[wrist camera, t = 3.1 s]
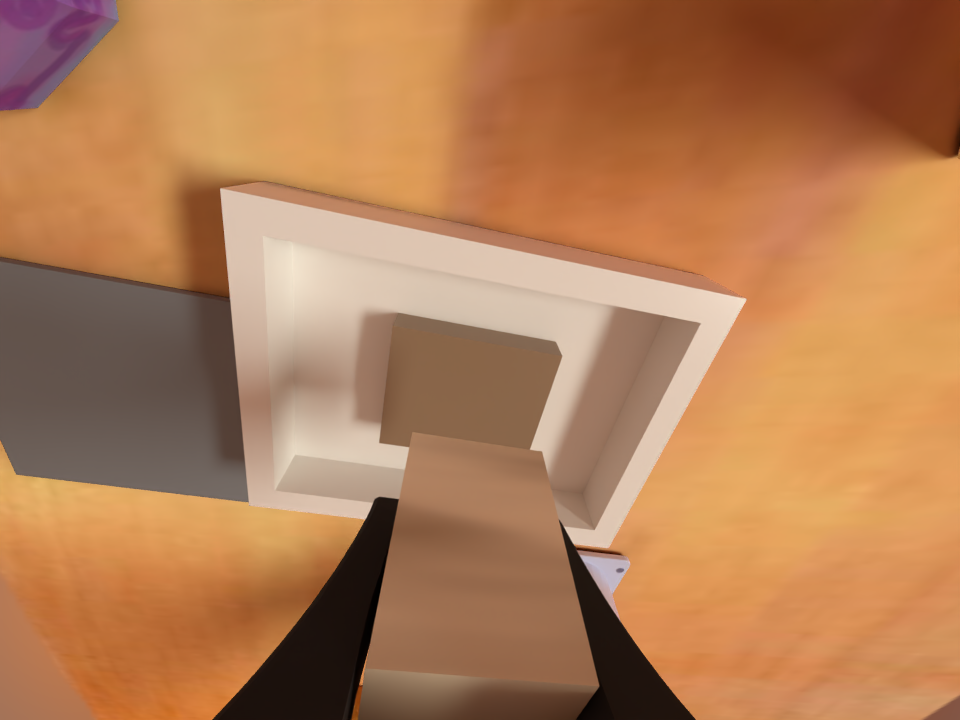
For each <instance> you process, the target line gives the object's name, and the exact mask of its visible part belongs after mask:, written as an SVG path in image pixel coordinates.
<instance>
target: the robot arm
mask: <svg viewBox="0 0 960 720" xmlns="http://www.w3.org/2000/svg"><path fill="white" fill-rule="evenodd" d="M398 502H399V499H395V498H387V497H377V498H375V499H374V502H373V505H372V507H371V509H370V511H369V513H368V516H367V518H366V520H365V522H364V523H363V525H362V527H361V529H360V531H359V532H358V534H357V536H356V538H355V539H354V541H353V543H352V544H351V546H350V548H349V549H348V551H347V552H346V554H345V556H344V557H343V559H342V560H341V562H340V564H339V565H338V567H337V568H336V570H335V571H334V573H333V574H332V575H331V577H330V578H329V580H328V581H327V583H326V584H325V585H324V587H323V588H322V590H321V591H320V593H319V594H318V595H317V597H316V598H315V600H314V601H313V602H312V604H311V605H310V606H309V608H308V609H307V610H306V612H305V613H304V614H303V616H302V617H301V618H300V619H299V621H298V622H297V623H296V625H295V626H294V627H293V628H292V630H291V631H290V632H289V633H288V635H287V636H286V637H285V638H284V640H283V641H282V642H281V643H280V644H279V646H278V647H277V648H276V649H275V650H274V652H273V653H272V654H271V655H270V656H269V657H268V659H267V660H266V661H265V662H264V663H263V664H262V666H261V667H260V668H259V669H258V670H257V672H256V673H255V674H254V675H253V676H252V677H251V678H250V679H249V681H248V682H247V683H246V684H245V685H244V686H243V687H242V688H241V690H240V691H239V692H238V693H237V694H236V695H235V696H234V697H233V698H232V699H231V700H230V701H229V702H228V704H227V705H226V706H225V707H224V708H223V709H222V710H221V711H220V712H219V713H218V714H217V715H216V716H215V717H214V718H213V720H352V715H353V710H354V705H355V700H356V696H357V691H358V687H359V683H360V679H361V675H362V671H363V668H364V664H365V660H366V657H367V653H368V649H369V646H370V642H371V637H372V632H373V627H374V622H375V617H376V612H377V607H378V602H379V597H380V592H381V587H382V582H383V577H384V572H385V567H386V562H387V557H388V552H389V547H390V542H391V537H392V532H393V527H394V522H395V517H396V512H397V507H398ZM559 523H560V527H561V531H562V535H563V539H564V543H565V547H566V551H567V555H568V560H569V564H570V568H571V572H572V576H573V580H574V584H575V588H576V592H577V596H578V600H579V605H580V609H581V613H582V617H583V621H584V625H585V629H586V633H587V637H588V641H589V646H590V650H591V654H592V658H593V662H594V666H595V670H596V674H597V678H598V682H599V688H598V689H597V690H596V692H595V693H594V695H593V696H592V698H591V699H590V700H589V702H588V703H587V705H586V706H585V707H584V709H583V710H582V712H581V713H580V714H579V716H578V717H577V719H576V720H696V719H695V718H694V717H693V716H692V715H691V713H690V712H689V711H688V710H687V709H686V708H685V706H684V705H683V704H682V703H681V702H680V701H679V699H678V698H677V697H676V696H675V695H674V693H673V692H672V691H671V690H670V688H669V687H668V686H667V685H666V683H665V682H664V681H663V679H662V678H661V677H660V676H659V674H658V673H657V672H656V670H655V669H654V668H653V666H652V665H651V664H650V663H649V661H648V660H647V659H646V657H645V656H644V655H643V653H642V652H641V650H640V649H639V648H638V646H637V645H636V643H635V642H634V641H633V639H632V638H631V636H630V635H629V633H628V632H627V630H626V629H625V627H624V626H623V624H622V623H621V621H620V618H619V615H618V612H617V609H616V605H615V602H614V599H613V596H612V594H613V592H614V591H615V589H616V587H617V586H618V584H619V582H620V581H621V579H622V578H623V576H624V574H625V573H626V571H627V569H628V568H629V566H630V562H629V559H628V558H627V557H626V556H622V555H613V554H605V553H596V552H588V551H579V550H576V548H575V546H574V544H573V542H572V541H571V539H570V537H569V535H568V533H567V532H566V530H565V528H564V526H563V524H562V523H561V521H560V520H559Z"/></svg>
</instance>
